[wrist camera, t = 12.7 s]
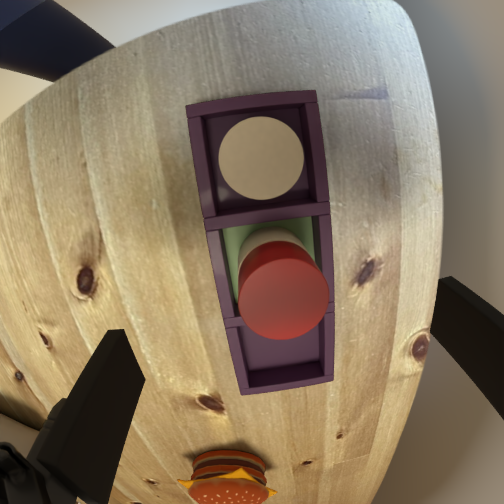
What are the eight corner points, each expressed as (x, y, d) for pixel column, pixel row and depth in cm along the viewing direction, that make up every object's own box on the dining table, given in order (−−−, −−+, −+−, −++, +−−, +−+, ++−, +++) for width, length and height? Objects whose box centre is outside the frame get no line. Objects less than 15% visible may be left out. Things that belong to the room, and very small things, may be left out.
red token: (232, 246, 16) (230, 265, 14) (313, 234, 16) (328, 251, 14) (244, 317, 18) (245, 345, 15) (317, 306, 18) (330, 332, 15)
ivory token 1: (217, 128, 17) (212, 122, 14) (289, 119, 17) (298, 112, 14) (227, 198, 19) (225, 205, 16) (298, 188, 19) (308, 194, 16)
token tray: (192, 111, 17) (185, 105, 15) (306, 97, 17) (316, 89, 15) (240, 375, 24) (240, 395, 22) (326, 361, 24) (333, 381, 22)
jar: (-51, 372, 19) (80, 477, 18) (6, 380, 33) (124, 449, 32) (-52, 470, 12) (74, 572, 11) (-3, 462, 25) (109, 532, 24)
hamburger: (176, 457, 29) (169, 500, 22) (241, 440, 27) (243, 488, 21) (219, 485, 31) (218, 522, 25) (280, 469, 30) (285, 510, 24)
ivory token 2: (232, 231, 19) (231, 244, 16) (302, 221, 19) (312, 233, 16) (243, 294, 21) (243, 316, 18) (307, 284, 21) (317, 304, 18)
